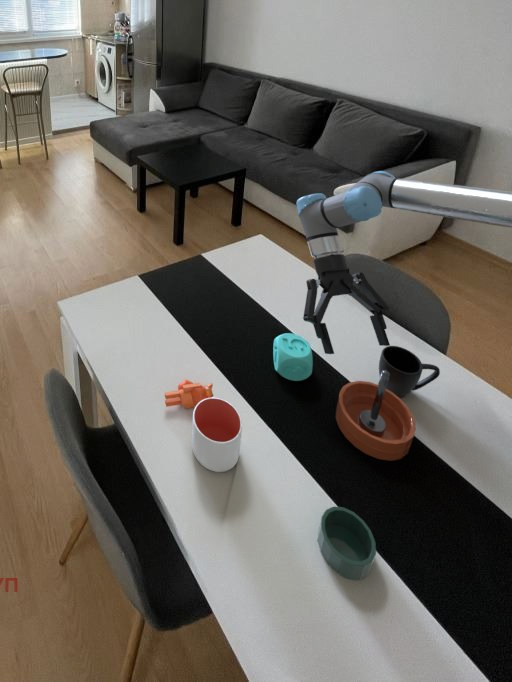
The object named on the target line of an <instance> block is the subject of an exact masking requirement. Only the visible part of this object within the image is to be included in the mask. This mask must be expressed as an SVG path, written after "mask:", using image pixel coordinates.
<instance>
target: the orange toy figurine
mask: <svg viewBox="0 0 512 682" xmlns="http://www.w3.org/2000/svg"><path fill="white" fill-rule="evenodd" d="M212 389H213V383H212V382H211V383H209V384H207V385H203V384H202V383H201V382H192V381H191V380H188V379H183V380H182V381H181V382H179V384H178V385H177V390H174V391H173V390H172V391H166V392H164V398H165V400H164V404H165V407H166V408H168V407H174V406H181V407H184V409H191V408H195V407H196V405H197V404H198V403H199V402H200V401H202V400H204V399H206V398H214V393H213V390H212Z"/></svg>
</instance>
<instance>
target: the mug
mask: <svg viewBox="0 0 512 682" xmlns="http://www.w3.org/2000/svg"><path fill="white" fill-rule="evenodd" d="M383 370H386V371H388V372H389V374H390V376H389V379H388V383H387V387H386V389H388V390H389V391H391V392H393V393H394V394H395V395H396V396H398V397H399V398H400V399H404V398H406V397H407V395H409V394H411V392H412V391H417V390H420V389H422V388H423V387H425V386H427V385H428V384H430V383H432V382H434V380H436V379H438V378H439V376H440V374H441V370H440V368H439V366H438V365H435V364H431V363H422V361H421V360H420V358H419V357H418V356H417V355H416V354H415V353H413V352H412V351H411V350H408V349H406V348H405V347H401V346H398V345H390V346H384V347H383V349H382V350H381V353H380V356H379V361H378V376H379V378H380V377H381V373H382V371H383ZM423 370H431V371H433V372H432V373H430V374H429V375H428V376H427V377H425V378H423V379H422V380H420V379H421V376H422V373H423Z"/></svg>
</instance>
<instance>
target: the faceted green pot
mask: <svg viewBox="0 0 512 682" xmlns="http://www.w3.org/2000/svg"><path fill="white" fill-rule="evenodd" d="M319 522H320V523H319V526H318V529H317V530H318V531H317V544H318V547H319V551H320V553H321V556H322V557H323V559H324V560H325V562H326V563H327V564H328V566H329V567H330V568H331V569H332V570H333V571H334V572H335V573H337V574H338V575H340V576H342V577H343V578H345V579H348V580H352V581H360V580H363V579H364V578H366V577H368V575H369V574H370V571H371V569H372V567H373V564H374V561H375V557H376V555H377V544H376V543H377V542H376V540H375V538H374V535H373V533H372V530H371V528H370V527H369V526H368V524H367V523H366V522H365V521H364V519H363V518H361V517H360V516H359V515H358V514H357V513H355V512H354V511H352V510H350V509H348V508H346V507H343V506H331V507H329V508H327V509H325V511H324V512H323V514H322V516H321V519H320V521H319Z"/></svg>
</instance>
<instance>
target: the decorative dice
mask: <svg viewBox="0 0 512 682" xmlns="http://www.w3.org/2000/svg"><path fill="white" fill-rule="evenodd" d="M272 346H273V347H272V350H273V351H272V355H273V357H272V358H273V364H274V365H273V366H274V370H275V371H276V372H277V374H279V375H280V376H281V377H283V378H285V379H286V380H289V381H294V382H299V381H300V382H301V381H304V380H306V379H308V378H309V377H310V376H312V374H313V365H314V363H313V360H314V359H313V352H312V351H313V350H312V346H311V344H310V343H309V342H308V340H307V339H305V338H304V337H302V336H300V335H298V334H296V333H292V332H287V333H282V334H280V335H278V336H276V337H275V338H274V340H273V345H272Z"/></svg>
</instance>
